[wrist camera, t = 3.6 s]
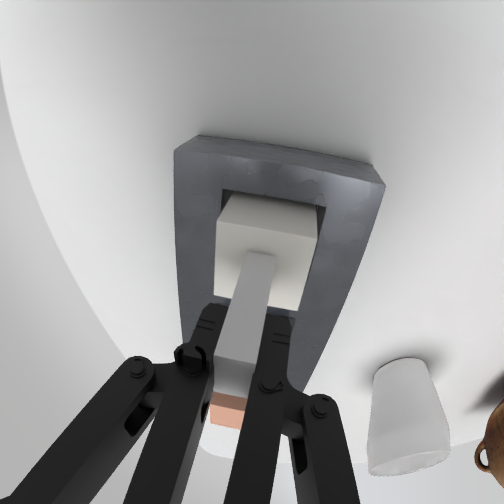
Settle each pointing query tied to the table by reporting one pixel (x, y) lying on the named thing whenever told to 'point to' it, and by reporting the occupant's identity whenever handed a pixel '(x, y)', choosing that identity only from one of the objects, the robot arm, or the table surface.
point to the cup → (405, 420)
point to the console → (281, 186)
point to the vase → (493, 445)
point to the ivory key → (266, 244)
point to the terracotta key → (227, 410)
